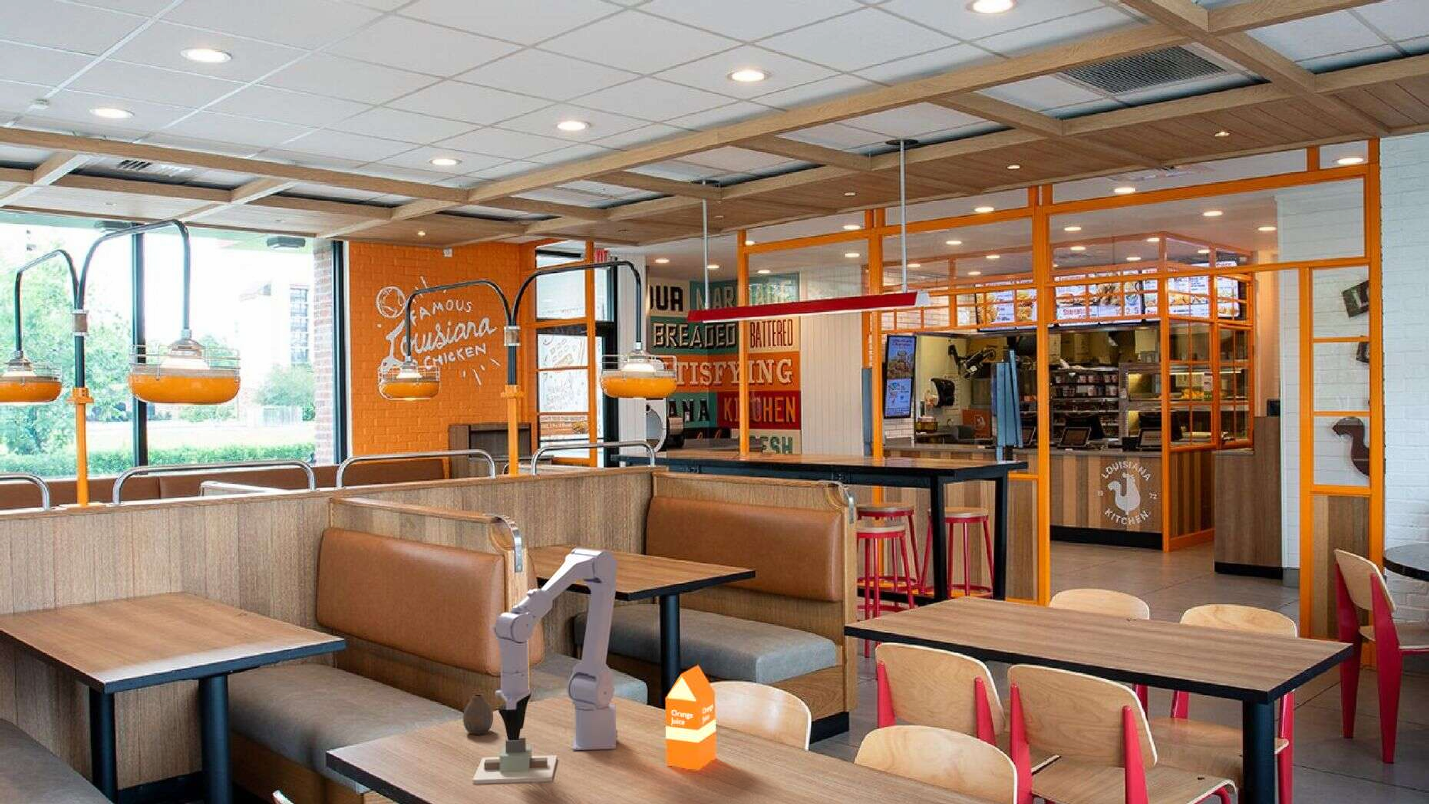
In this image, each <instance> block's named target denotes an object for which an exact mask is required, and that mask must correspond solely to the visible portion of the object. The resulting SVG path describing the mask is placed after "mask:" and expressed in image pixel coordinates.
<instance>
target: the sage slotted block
mask: <svg viewBox="0 0 1429 804" xmlns="http://www.w3.org/2000/svg"><path fill="white" fill-rule="evenodd" d="M526 739H527V738H526V737H519V740H510V741H509V740H508V737H507V738H505V746H502V748H501V752H500V754H499V757H500V773H502V772H529V770H530V767H529V760H530V758H532V756H533V755H532V754H533V749H532V748H533V747H532V746H528V745H527V744H526Z"/></svg>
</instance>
